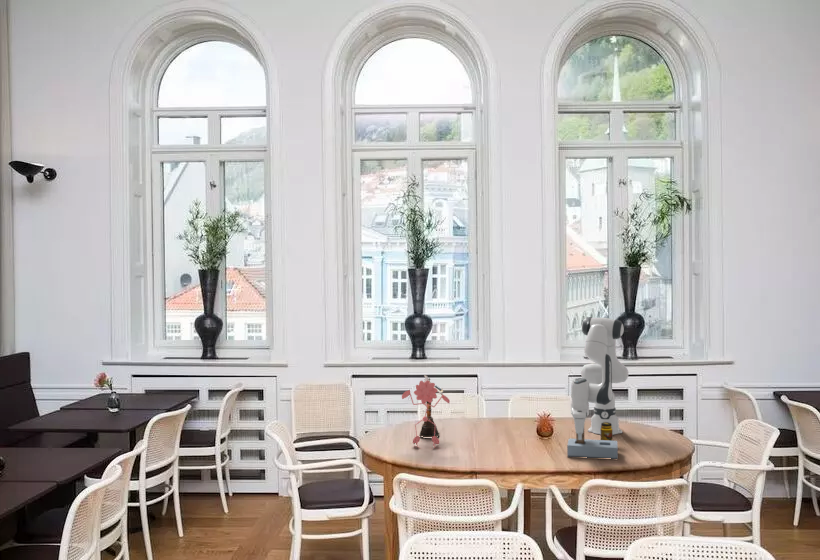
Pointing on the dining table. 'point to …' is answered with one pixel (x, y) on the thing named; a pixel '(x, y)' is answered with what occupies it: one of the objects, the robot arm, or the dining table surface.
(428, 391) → the pink flower figurine
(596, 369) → the robot arm
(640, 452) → the dining table surface
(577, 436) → the walnut pin
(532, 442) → the dining table surface
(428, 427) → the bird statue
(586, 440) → the bore block
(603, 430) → the condiment
